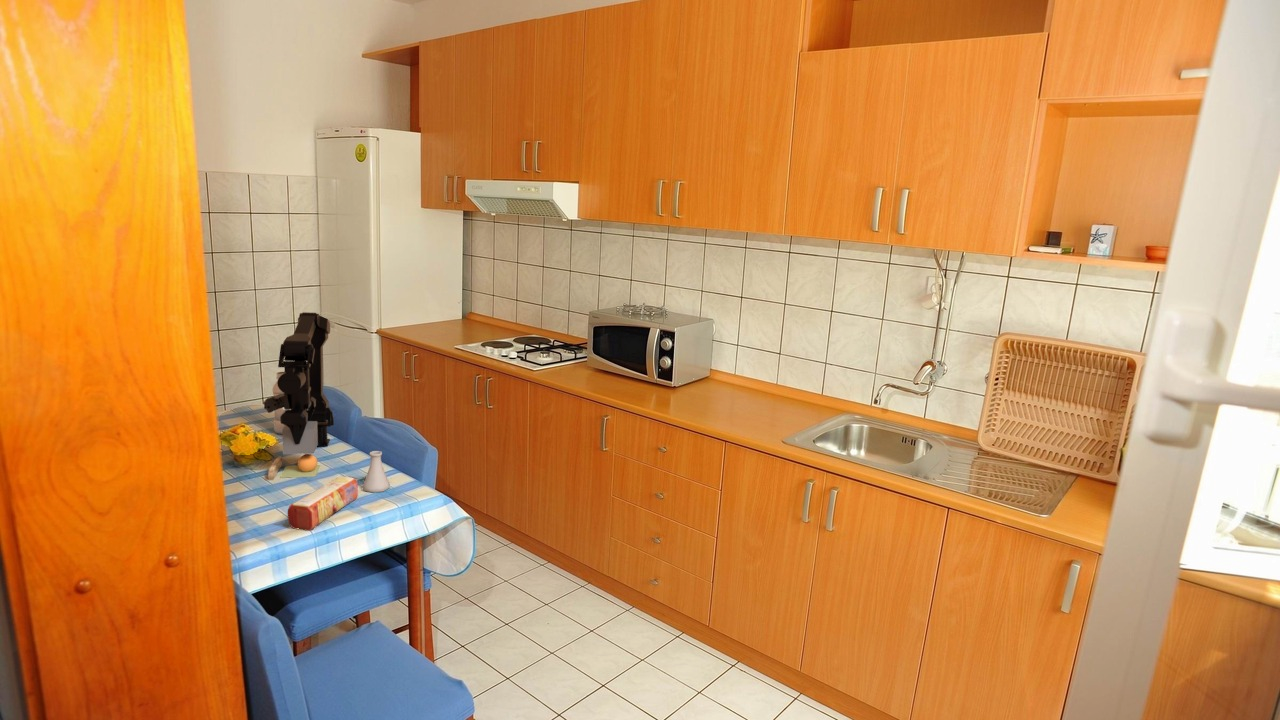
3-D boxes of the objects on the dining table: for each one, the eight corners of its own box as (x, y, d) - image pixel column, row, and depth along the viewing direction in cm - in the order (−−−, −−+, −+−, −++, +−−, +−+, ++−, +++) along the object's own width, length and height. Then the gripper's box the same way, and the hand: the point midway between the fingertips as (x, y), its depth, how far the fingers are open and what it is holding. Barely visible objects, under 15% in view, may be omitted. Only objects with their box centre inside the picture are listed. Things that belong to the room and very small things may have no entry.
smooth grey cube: (288, 445, 207) (287, 421, 205) (317, 444, 209) (317, 421, 207) (283, 454, 199) (282, 429, 198) (313, 453, 201) (313, 429, 200)
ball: (307, 448, 207) (322, 458, 208) (295, 461, 206) (310, 471, 208) (304, 453, 202) (320, 464, 204) (292, 467, 202) (307, 477, 203)
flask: (384, 494, 193) (384, 458, 191) (357, 492, 193) (356, 456, 191) (394, 484, 200) (394, 449, 198) (367, 482, 200) (367, 447, 198)
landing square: (286, 466, 208) (286, 466, 208) (320, 465, 211) (320, 464, 211) (280, 477, 200) (280, 477, 200) (315, 476, 202) (315, 475, 202)
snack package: (337, 496, 190) (336, 472, 189) (361, 499, 189) (360, 474, 188) (286, 530, 169) (285, 502, 168) (312, 533, 168) (312, 505, 167)
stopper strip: (277, 465, 209) (277, 456, 208) (281, 465, 209) (281, 456, 209) (268, 480, 198) (268, 471, 197) (272, 480, 198) (272, 471, 197)
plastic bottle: (269, 434, 235) (266, 374, 231) (282, 429, 241) (280, 369, 238) (287, 436, 234) (285, 376, 230) (300, 431, 240) (298, 371, 237)
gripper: (272, 377, 207) (274, 430, 210) (257, 393, 189) (260, 451, 192) (315, 377, 210) (316, 429, 213) (304, 393, 192) (306, 449, 195)
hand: (299, 439), depth 203 cm, fingers closed on smooth grey cube, 8 cm apart
